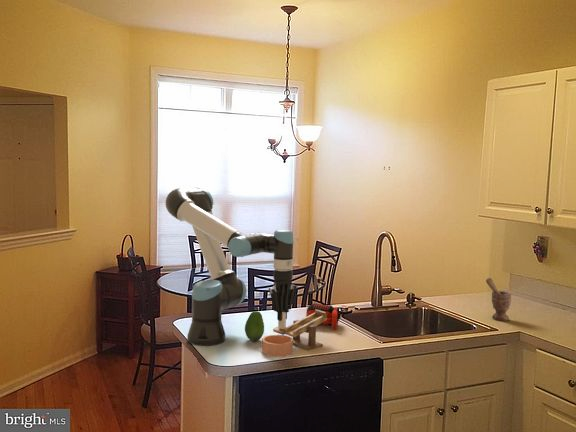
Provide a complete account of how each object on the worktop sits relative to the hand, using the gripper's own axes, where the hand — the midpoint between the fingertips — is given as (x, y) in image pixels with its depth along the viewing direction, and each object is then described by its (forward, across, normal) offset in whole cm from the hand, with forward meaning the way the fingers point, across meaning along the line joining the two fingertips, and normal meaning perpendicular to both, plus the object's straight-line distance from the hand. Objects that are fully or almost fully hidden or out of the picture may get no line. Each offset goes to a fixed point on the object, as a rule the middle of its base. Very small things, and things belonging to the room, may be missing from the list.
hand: (281, 328), depth 211 cm
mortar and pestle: (+7, +107, -35) cm, 113 cm away
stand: (+6, +7, -6) cm, 11 cm away
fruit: (+7, -6, +10) cm, 13 cm away
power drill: (+7, +32, +9) cm, 34 cm away
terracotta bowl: (+6, -7, -6) cm, 11 cm away
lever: (+1, +8, -3) cm, 8 cm away
